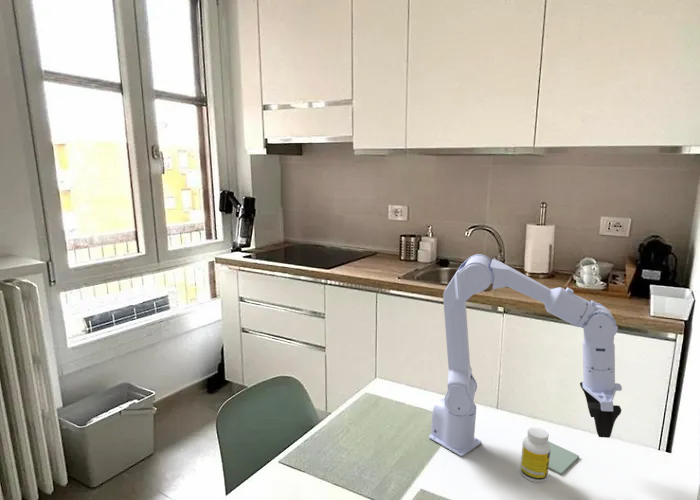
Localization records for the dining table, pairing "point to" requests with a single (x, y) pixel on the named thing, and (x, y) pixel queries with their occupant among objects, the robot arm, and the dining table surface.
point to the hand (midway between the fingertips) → (599, 426)
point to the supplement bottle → (535, 455)
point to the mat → (560, 459)
